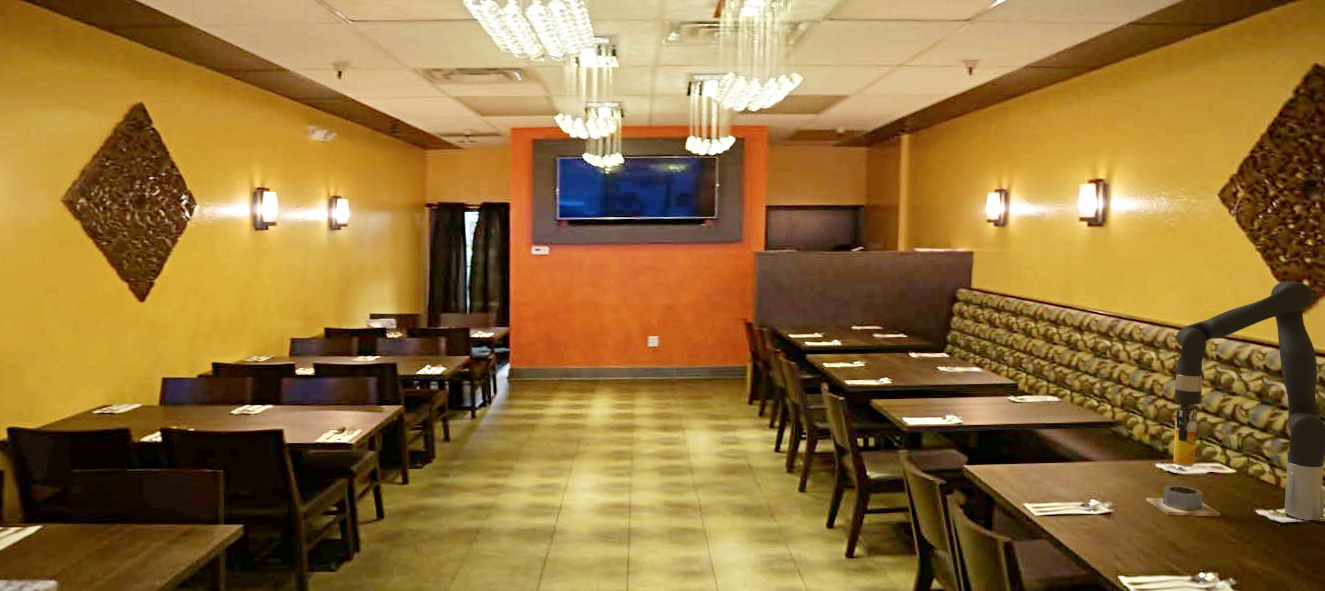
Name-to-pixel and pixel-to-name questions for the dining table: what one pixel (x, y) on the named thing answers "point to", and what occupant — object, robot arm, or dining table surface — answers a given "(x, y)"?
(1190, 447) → the beer can
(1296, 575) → the dining table surface
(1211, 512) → the birch board
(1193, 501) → the gray faceted bowl
